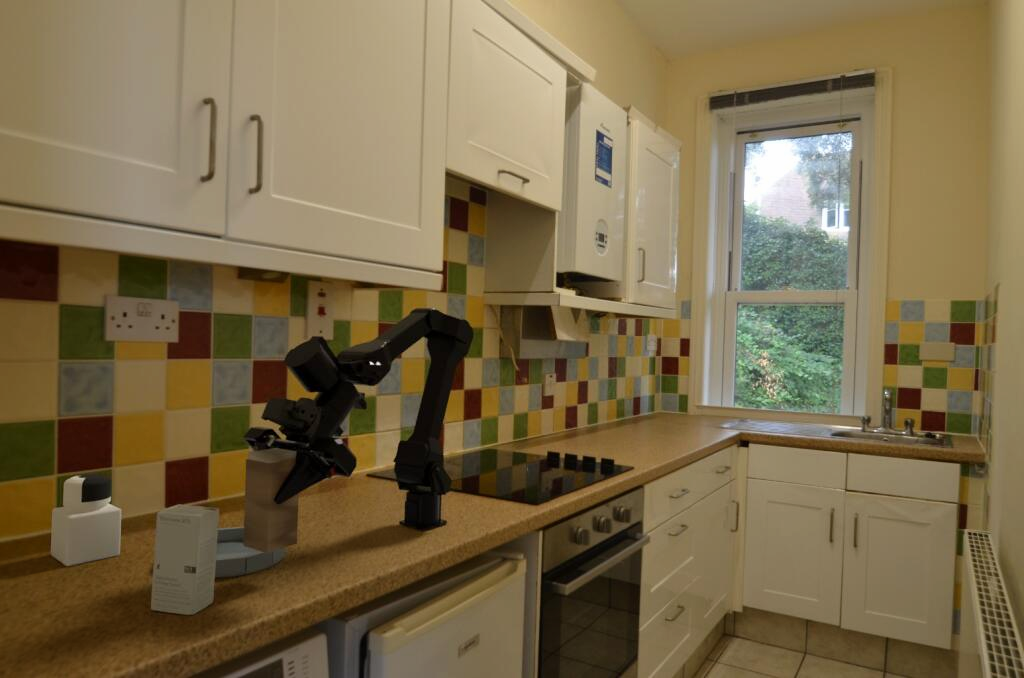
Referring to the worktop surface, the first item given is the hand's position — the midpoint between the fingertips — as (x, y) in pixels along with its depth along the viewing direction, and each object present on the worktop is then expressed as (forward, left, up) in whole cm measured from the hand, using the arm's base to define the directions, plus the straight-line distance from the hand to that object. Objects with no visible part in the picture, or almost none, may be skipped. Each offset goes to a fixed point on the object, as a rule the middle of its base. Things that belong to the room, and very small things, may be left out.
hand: (263, 499), depth 89 cm
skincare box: (+11, 0, -12) cm, 16 cm away
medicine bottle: (+11, -29, -12) cm, 33 cm away
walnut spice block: (-1, 0, -7) cm, 7 cm away
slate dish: (-2, -12, -11) cm, 17 cm away
